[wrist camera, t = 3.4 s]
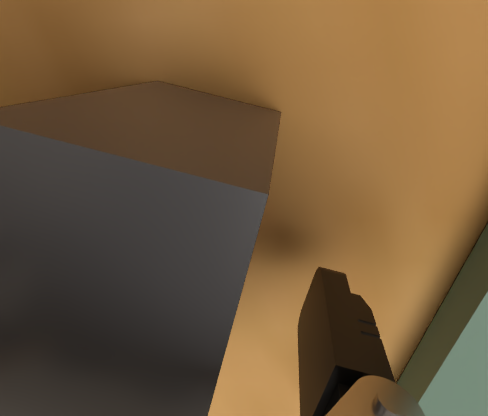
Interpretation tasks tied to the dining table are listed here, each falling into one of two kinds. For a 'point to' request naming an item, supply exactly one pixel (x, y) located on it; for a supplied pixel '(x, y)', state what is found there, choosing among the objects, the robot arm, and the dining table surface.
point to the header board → (455, 346)
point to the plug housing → (125, 247)
